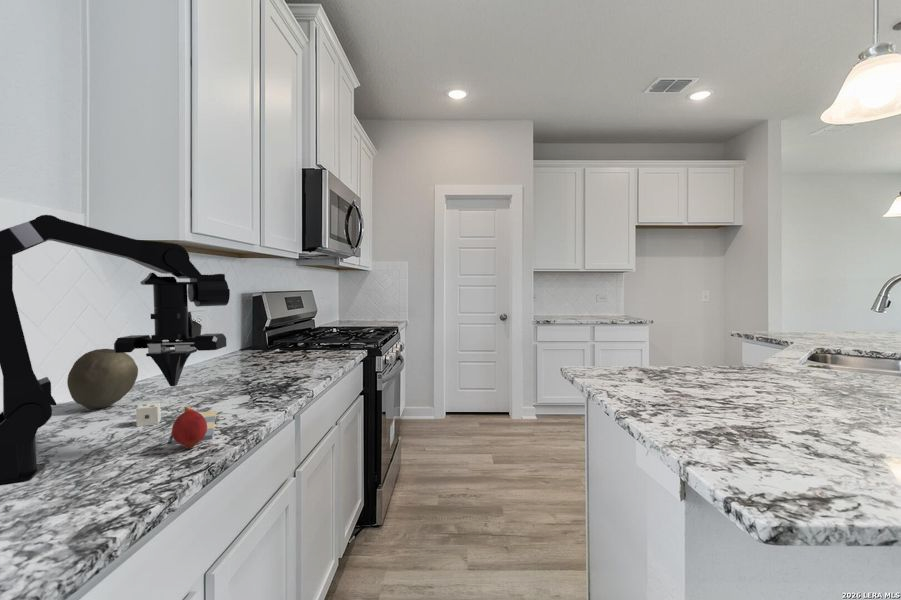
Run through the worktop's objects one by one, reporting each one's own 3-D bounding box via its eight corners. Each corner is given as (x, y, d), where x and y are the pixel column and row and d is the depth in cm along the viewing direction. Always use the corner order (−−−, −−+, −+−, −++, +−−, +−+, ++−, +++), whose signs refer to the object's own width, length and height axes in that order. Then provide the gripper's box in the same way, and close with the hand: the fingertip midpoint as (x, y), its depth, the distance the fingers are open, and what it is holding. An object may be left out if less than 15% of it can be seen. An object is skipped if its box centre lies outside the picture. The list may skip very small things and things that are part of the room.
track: (212, 438, 92) (212, 434, 92) (171, 444, 89) (171, 440, 89) (216, 413, 110) (216, 410, 110) (182, 417, 107) (182, 414, 107)
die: (157, 424, 102) (157, 406, 102) (136, 427, 100) (136, 408, 100) (160, 419, 106) (160, 402, 106) (140, 422, 104) (139, 404, 104)
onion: (200, 440, 90) (199, 401, 90) (212, 447, 87) (211, 405, 87) (167, 449, 86) (166, 407, 86) (179, 456, 82) (178, 412, 82)
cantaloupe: (82, 417, 108) (80, 354, 107) (60, 409, 115) (57, 350, 115) (147, 404, 119) (146, 347, 119) (123, 397, 127) (121, 344, 127)
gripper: (235, 305, 99) (237, 376, 99) (143, 306, 97) (146, 379, 97) (214, 307, 88) (216, 387, 88) (110, 309, 86) (113, 391, 86)
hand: (173, 385), depth 90 cm, fingers closed
